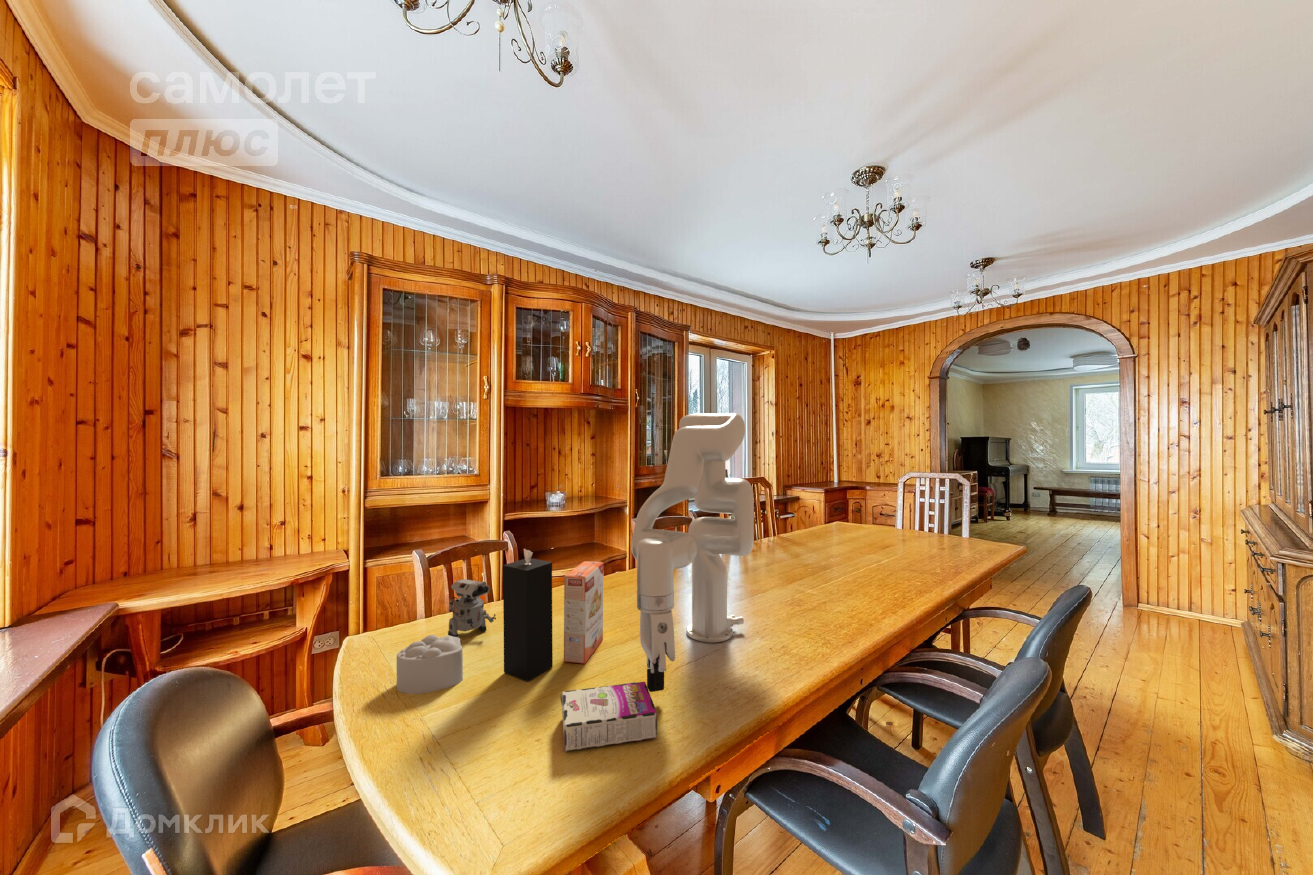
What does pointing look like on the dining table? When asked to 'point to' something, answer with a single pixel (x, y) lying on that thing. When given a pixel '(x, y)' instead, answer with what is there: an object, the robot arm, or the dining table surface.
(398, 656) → the lumpy-topped squat cylinder
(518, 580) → the black tall square box
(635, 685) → the candy bar box
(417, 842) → the dining table surface
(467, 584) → the figurine
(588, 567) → the cracker box
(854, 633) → the dining table surface
